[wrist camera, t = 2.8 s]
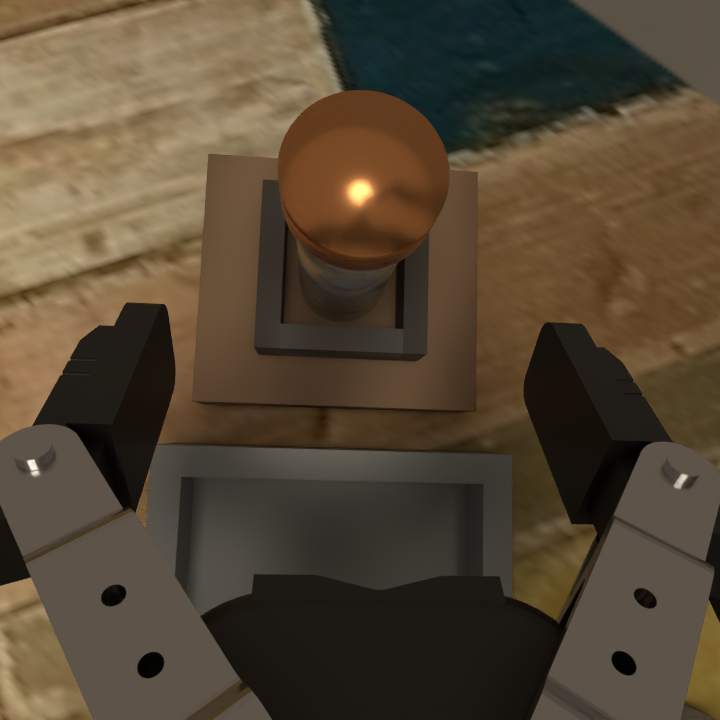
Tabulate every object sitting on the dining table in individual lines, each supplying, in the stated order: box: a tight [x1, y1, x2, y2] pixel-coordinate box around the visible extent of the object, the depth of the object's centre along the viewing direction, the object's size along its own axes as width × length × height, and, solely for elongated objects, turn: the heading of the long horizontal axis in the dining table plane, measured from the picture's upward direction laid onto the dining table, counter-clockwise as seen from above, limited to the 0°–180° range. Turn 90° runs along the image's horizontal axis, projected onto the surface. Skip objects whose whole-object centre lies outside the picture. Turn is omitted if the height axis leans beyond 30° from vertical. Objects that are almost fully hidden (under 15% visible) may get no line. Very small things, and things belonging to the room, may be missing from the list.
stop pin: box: [278, 90, 450, 322], centre depth 17 cm, size 4×4×9 cm
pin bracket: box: [192, 154, 478, 413], centre depth 21 cm, size 10×9×4 cm
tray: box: [146, 443, 512, 616], centre depth 20 cm, size 12×12×3 cm
